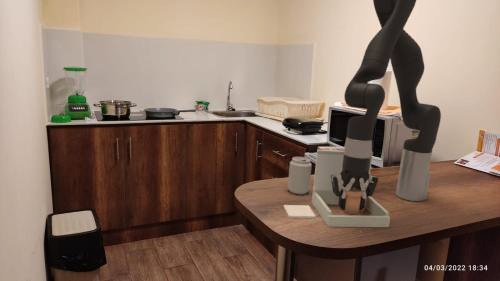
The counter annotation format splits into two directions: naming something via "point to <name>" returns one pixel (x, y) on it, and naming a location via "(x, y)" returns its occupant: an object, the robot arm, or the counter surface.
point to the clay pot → (353, 201)
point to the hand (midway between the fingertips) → (350, 208)
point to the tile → (299, 211)
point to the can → (299, 175)
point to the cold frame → (323, 195)
